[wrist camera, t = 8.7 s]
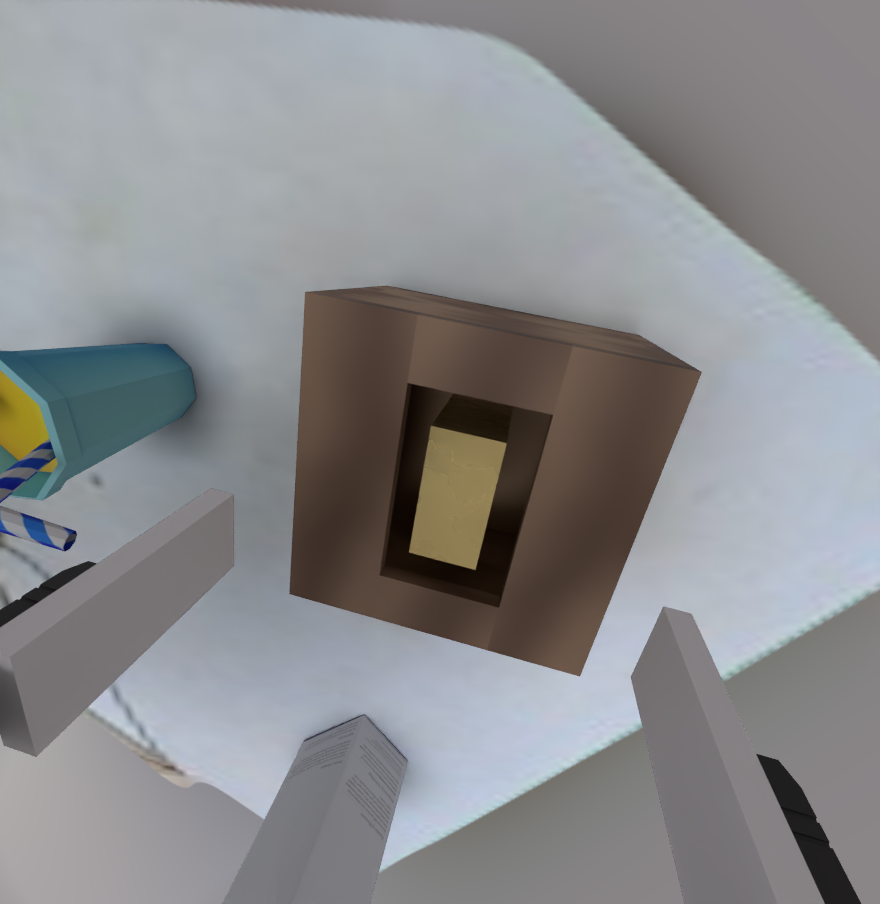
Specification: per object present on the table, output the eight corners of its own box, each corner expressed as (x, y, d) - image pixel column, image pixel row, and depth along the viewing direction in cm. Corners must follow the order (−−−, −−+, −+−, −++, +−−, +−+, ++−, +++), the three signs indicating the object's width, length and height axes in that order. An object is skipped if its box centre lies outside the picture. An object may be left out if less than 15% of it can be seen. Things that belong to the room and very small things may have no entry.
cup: (279, 378, 29) (51, 472, 15) (252, 477, 32) (44, 627, 19) (85, 286, 30) (-306, 298, 16) (77, 393, 33) (-255, 479, 19)
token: (445, 471, 28) (409, 552, 20) (464, 377, 26) (431, 425, 18) (493, 483, 28) (475, 570, 20) (516, 389, 26) (506, 443, 17)
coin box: (361, 500, 31) (289, 593, 22) (387, 285, 26) (305, 292, 17) (566, 552, 30) (579, 676, 20) (638, 335, 24) (701, 372, 15)
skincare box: (344, 784, 43) (249, 1038, 29) (298, 736, 42) (175, 977, 27) (412, 760, 40) (343, 1031, 26) (365, 708, 39) (265, 963, 24)
